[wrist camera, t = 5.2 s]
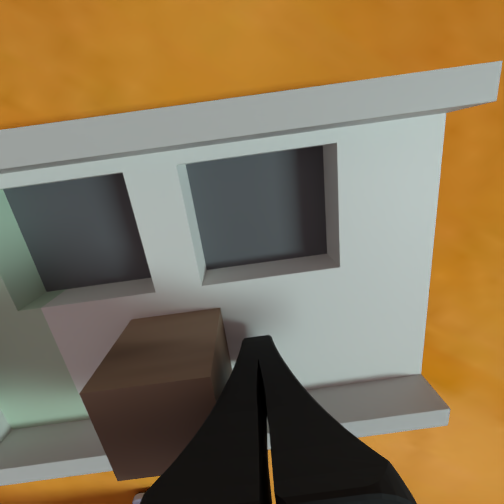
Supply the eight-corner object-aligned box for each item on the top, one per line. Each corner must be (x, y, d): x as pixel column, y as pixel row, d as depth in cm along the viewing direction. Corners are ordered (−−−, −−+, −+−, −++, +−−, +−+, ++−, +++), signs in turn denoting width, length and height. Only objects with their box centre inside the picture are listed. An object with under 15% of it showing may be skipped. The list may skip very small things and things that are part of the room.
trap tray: (397, 362, 16) (447, 425, 12) (30, 411, 16) (-37, 490, 12) (414, 94, 11) (502, 60, 7) (-103, 165, 11) (-275, 168, 7)
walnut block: (233, 378, 13) (230, 466, 9) (153, 388, 13) (117, 481, 9) (220, 307, 12) (210, 376, 8) (131, 319, 12) (78, 393, 8)
